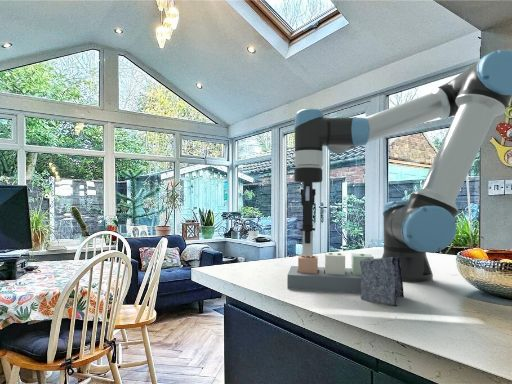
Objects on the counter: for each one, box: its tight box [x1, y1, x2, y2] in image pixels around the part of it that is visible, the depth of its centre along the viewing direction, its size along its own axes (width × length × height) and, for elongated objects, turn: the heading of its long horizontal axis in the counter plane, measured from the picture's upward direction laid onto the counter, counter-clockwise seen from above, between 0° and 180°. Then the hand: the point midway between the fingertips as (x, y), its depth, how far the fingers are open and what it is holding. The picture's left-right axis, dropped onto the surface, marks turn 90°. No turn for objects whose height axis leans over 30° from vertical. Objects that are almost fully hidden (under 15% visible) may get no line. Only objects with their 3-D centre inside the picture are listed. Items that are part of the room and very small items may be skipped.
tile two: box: [324, 252, 346, 275], centre depth 92 cm, size 5×5×5 cm
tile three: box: [297, 254, 319, 274], centre depth 93 cm, size 5×5×5 cm
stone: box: [360, 257, 405, 307], centre depth 80 cm, size 12×10×10 cm
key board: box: [286, 265, 362, 294], centre depth 92 cm, size 24×12×4 cm, turn 80°
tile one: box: [351, 253, 375, 275], centre depth 91 cm, size 5×5×5 cm
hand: (307, 255), depth 93 cm, fingers closed
